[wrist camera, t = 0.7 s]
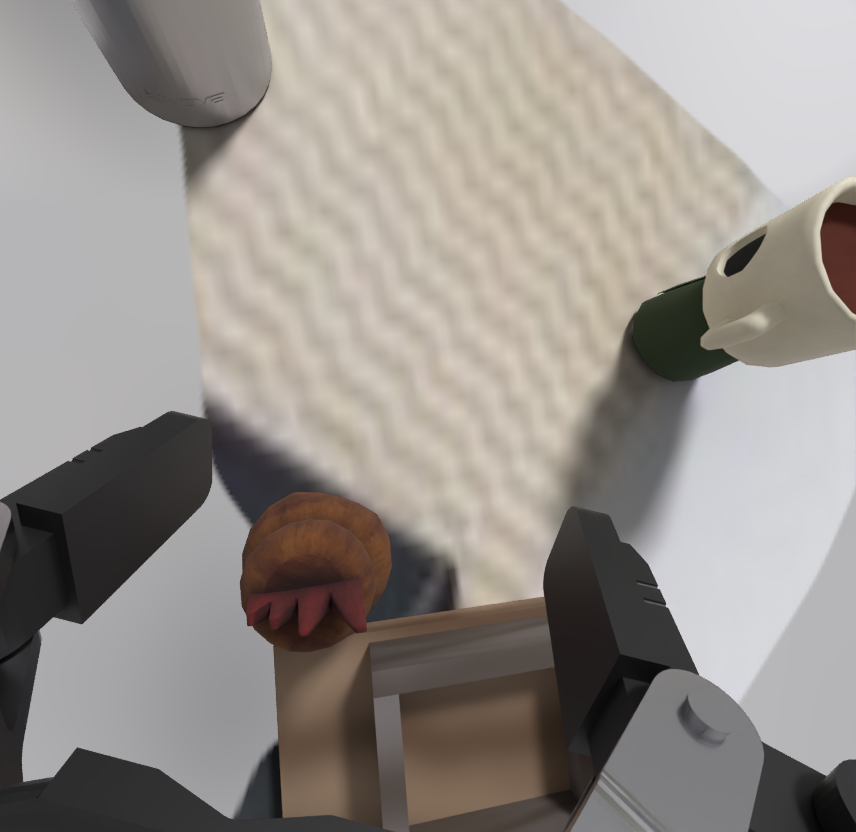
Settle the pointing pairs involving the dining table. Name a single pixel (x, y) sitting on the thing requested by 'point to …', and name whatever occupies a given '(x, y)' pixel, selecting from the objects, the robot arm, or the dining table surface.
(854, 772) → the robot arm
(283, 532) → the wooden figurine
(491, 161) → the dining table surface
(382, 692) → the socket stand
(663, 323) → the character mug
